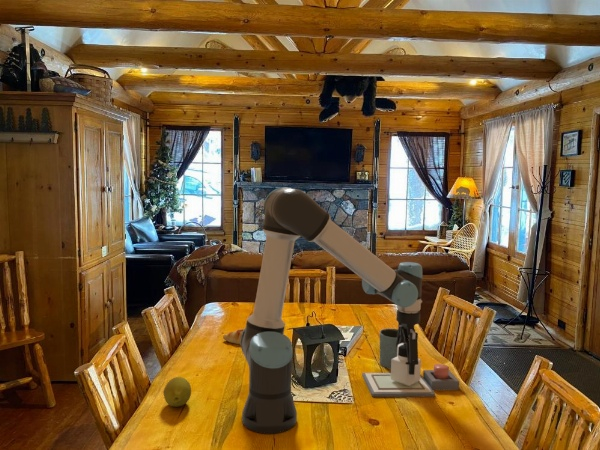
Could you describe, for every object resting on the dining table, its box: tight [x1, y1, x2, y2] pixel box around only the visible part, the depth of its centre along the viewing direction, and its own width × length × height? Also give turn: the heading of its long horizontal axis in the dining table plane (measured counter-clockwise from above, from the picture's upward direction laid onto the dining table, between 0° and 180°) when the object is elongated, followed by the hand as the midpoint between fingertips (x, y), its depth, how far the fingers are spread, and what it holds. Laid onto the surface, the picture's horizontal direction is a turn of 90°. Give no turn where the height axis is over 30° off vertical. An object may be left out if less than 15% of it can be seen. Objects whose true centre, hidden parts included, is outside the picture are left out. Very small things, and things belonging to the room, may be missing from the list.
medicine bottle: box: [390, 343, 422, 386], centre depth 159 cm, size 7×7×12 cm
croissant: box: [222, 328, 245, 346], centre depth 197 cm, size 21×10×8 cm, turn 90°
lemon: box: [163, 376, 192, 408], centre depth 142 cm, size 11×8×8 cm
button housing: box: [422, 369, 460, 391], centre depth 161 cm, size 9×9×3 cm
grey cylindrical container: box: [379, 328, 398, 370], centre depth 177 cm, size 10×10×12 cm
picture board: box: [361, 372, 436, 398], centre depth 160 cm, size 16×20×2 cm
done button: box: [433, 363, 450, 379], centre depth 161 cm, size 5×5×4 cm
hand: (405, 376), depth 160 cm, fingers closed on medicine bottle, 10 cm apart
